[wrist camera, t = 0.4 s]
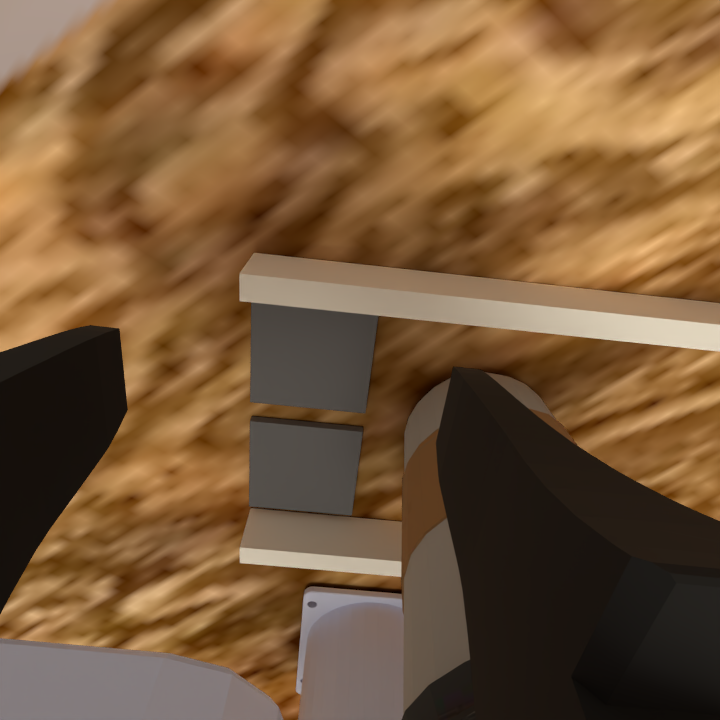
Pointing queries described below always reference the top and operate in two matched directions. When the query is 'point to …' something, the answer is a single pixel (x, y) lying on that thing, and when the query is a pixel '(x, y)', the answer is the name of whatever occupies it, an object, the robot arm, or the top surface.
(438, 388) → the coffee cup
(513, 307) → the lane box
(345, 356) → the trap pits
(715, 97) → the top surface
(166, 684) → the robot arm
